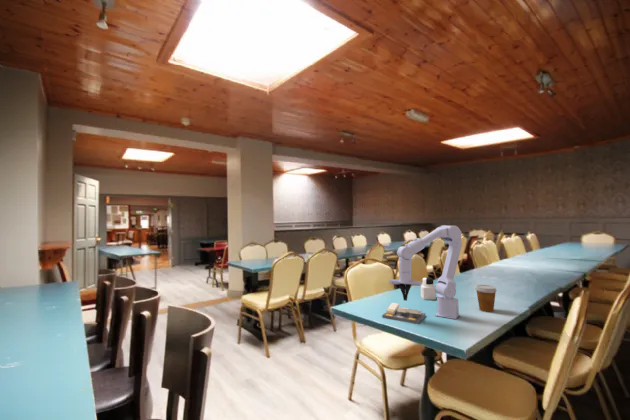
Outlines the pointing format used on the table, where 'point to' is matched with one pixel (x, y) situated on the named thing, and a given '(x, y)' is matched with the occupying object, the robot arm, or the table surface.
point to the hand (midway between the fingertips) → (405, 300)
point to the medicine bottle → (428, 289)
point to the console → (405, 316)
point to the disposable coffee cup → (486, 297)
